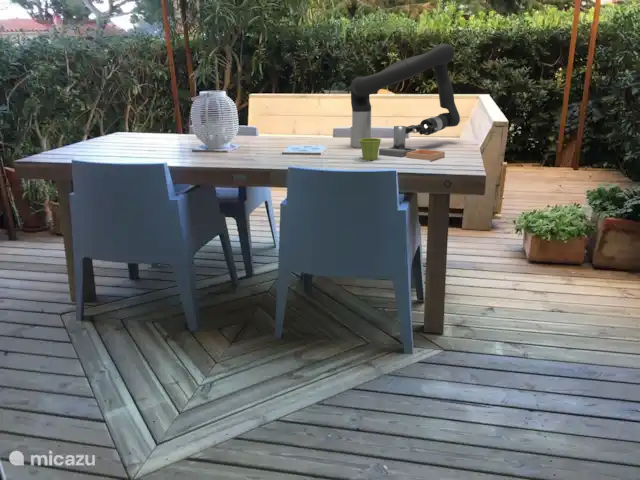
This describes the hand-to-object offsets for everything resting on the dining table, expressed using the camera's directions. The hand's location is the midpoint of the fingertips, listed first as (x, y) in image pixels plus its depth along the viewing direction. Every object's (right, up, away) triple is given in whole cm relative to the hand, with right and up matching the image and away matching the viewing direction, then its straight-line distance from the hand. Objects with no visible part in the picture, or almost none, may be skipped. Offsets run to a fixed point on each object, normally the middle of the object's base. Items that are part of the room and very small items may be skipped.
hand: (412, 132), depth 250 cm
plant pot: (-21, -15, -15) cm, 30 cm away
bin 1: (-8, -12, -6) cm, 15 cm away
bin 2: (+3, -14, -14) cm, 20 cm away
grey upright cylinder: (-7, -11, -5) cm, 14 cm away
